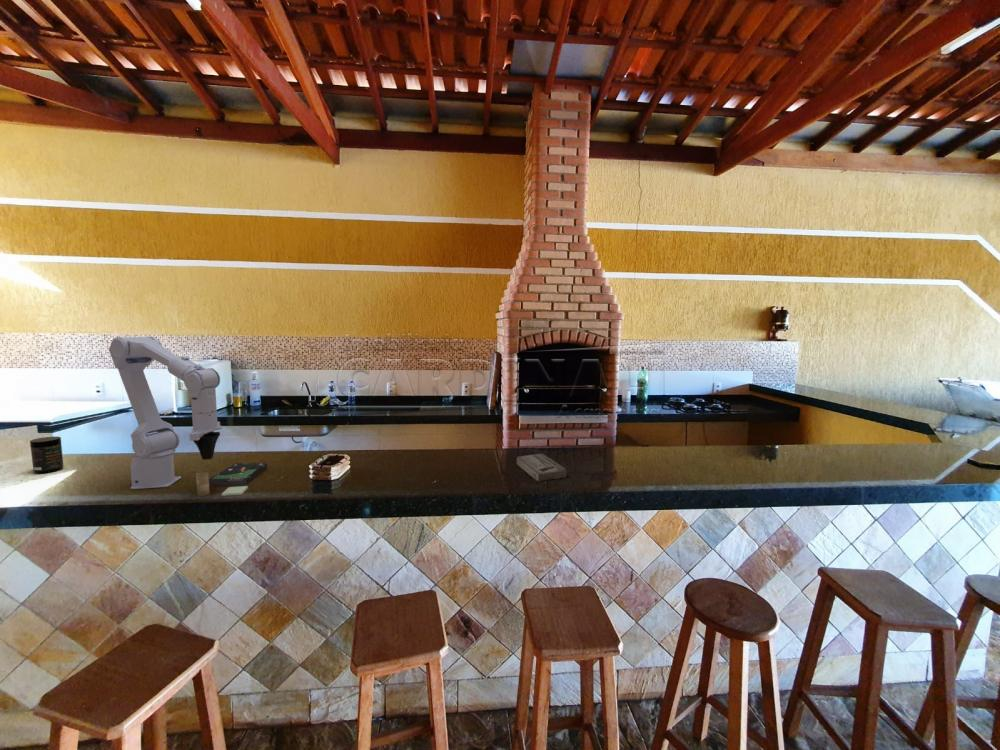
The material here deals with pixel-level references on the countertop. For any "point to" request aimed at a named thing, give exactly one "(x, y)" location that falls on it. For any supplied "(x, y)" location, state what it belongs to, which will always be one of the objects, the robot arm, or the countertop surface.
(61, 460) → the supplement container
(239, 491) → the pad
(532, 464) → the box
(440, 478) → the countertop surface
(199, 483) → the dowel
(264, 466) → the disk drive
